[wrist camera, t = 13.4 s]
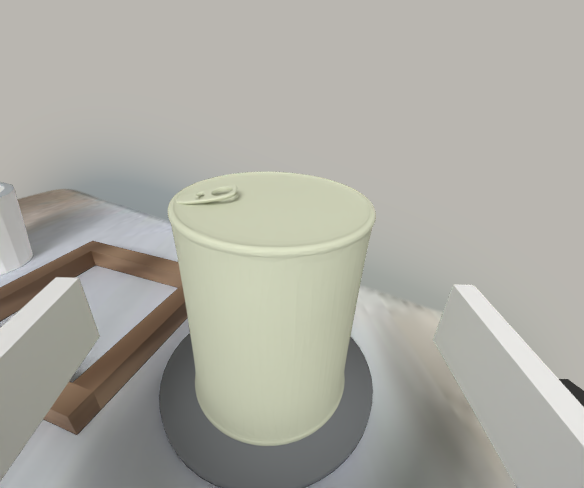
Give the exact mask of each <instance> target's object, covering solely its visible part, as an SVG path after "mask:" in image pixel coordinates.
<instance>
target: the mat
mask: <svg viewBox="0 0 584 488" xmlns="http://www.w3.org/2000/svg"><path fill="white" fill-rule="evenodd" d="M195 375H196V371H195V363H194V355H193V348H192V342H191V335H190V333H189V334H188V335H187V336H186V337H185V338H184V339H183V340H182V342H181V343H180V344H179V346H178V347H177V348H176V349H175V351H174V353H173V354H172V356H171V358H170V359H169V361H168V363H167V366H166V368H165V370H164V374H163V377H162V381H161V386H160V394H159V401H160V412H161V417H162V422H163V426H164V429H165V432H166V434H167V437H168V440H169V442H170V444H171V446H172V447H173V449H174V450H175V452H176V454H177V455H178V456H179V458H180V459H181V460H182V461H183V462H184V463H185V464H186V466H187V467H188V468H190V469H191V470H192V471H193V472H195V473H196V474H197V475H198V476H199V477H201V478H203V479H204V480H206V481H208V482H210V483H211V484H213V485H215V486H218V487H220V488H305V487H307V486H309V485H311V484H314V483H316V482H318V481H320V480H321V479H323V478H324V477H326V476H327V475H329V474H330V473H332V472H333V471H335V470H336V469H337V468H338V467H339V466H340V465H341V464H342V463H343V462H344V461H345V460H346V459H347V458H348V457H349V456H350V454H351V453H352V452H353V451H354V449H355V448H356V446H357V444H358V443H359V441H360V439H361V437H362V436H363V433H364V431H365V428H366V425H367V423H368V419H369V415H370V411H371V406H372V394H373V389H372V379H371V375H370V371H369V367H368V364H367V362H366V360H365V357H364V355H363V353H362V352H361V350H360V348H359V347H358V345H357V344H356V343H355V341H354V340H353V339H352V338H351V337H350V340H349V346H348V351H347V357H346V363H345V369H344V377H345V382H344V390H343V394H342V398H341V400H340V403H339V405H338V407H337V409H336V410H335V412H334V414H333V415H332V416H331V417H330V419H329V420H328V421H327V422H326V423H325V424H324V425H323V426H322V427H321V428H319V429H318V430H317V431H315V432H314V433H312V434H311V435H309V436H307V437H305V438H303V439H301V440H298V441H295V442H292V443H289V444H284V445H277V446H258V445H252V444H248V443H243V442H240V441H238V440H235V439H233V438H231V437H229V436H227V435H226V434H224V433H223V432H221V431H220V430H219V429H217V428H216V427H215V426H214V425H213V424H212V423H211V422H210V421H209V420H208V418H207V417H206V416H205V414H204V412H203V411H202V409H201V407H200V405H199V402H198V399H197V396H196V390H195Z"/></svg>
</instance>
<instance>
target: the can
mask: <svg viewBox="0 0 584 488" xmlns="http://www.w3.org/2000/svg"><path fill="white" fill-rule="evenodd" d="M168 217H169V220H170V223H171V226H172V231H173V236H174V241H175V246H176V251H177V257H178V263H179V268H180V274H181V280H182V286H183V292H184V298H185V303H186V310H187V316H188V323H189V329H190V335H191V342H192V348H193V355H194V363H195V371H196V375H195V390H196V396H197V399H198V402H199V405H200V407H201V409H202V411H203V412H204V414H205V416H206V417H207V418H208V420H209V421H210V422H211V423H212V424H213V425H214V426H215V427H216V428H217V429H219V430H220V431H221V432H223V433H224V434H226V435H227V436H229V437H231V438H233V439H235V440H238V441H240V442H243V443H248V444H252V445H258V446H277V445H284V444H289V443H292V442H295V441H298V440H301V439H303V438H305V437H307V436H309V435H311V434H312V433H314V432H315V431H317V430H318V429H319V428H321V427H322V426H323V425H324V424H325V423H326V422H327V421H328V420H329V419H330V417H331V416H332V415H333V414H334V412H335V410H336V409H337V407H338V405H339V403H340V400H341V398H342V394H343V390H344V382H345V377H344V369H345V363H346V357H347V351H348V346H349V340H350V335H351V330H352V324H353V319H354V314H355V308H356V303H357V298H358V293H359V288H360V282H361V278H362V272H363V267H364V262H365V257H366V252H367V248H368V243H369V239H370V235H371V231H372V227H373V225H374V222H375V219H376V213H375V209H374V206H373V205H372V203H371V202H370V201H369V200H368V199H367V198H366V197H365V196H364V195H363V194H361V193H360V192H358V191H357V190H355V189H353V188H350V187H349V186H346V185H344V184H341V183H338V182H335V181H332V180H329V179H325V178H320V177H316V176H311V175H304V174H297V173H287V172H245V173H236V174H229V175H223V176H217V177H213V178H210V179H206V180H203V181H200V182H197V183H194V184H192V185H190V186H188V187H186V188H184V189H182V190H181V191H180V192H179V193H177V194H176V195H175V196H174V197H173V198H172V199H171V201H170V203H169V206H168Z"/></svg>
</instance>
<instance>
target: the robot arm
mask: <svg viewBox="0 0 584 488" xmlns="http://www.w3.org/2000/svg"><path fill="white" fill-rule="evenodd" d="M99 337H100V335H99V333H98V330H97V327H96V324H95V321H94V318H93V316H92V313H91V310H90V307H89V304H88V302H87V299H86V296H85V293H84V290H83V287H82V285H81V282H80V279H79V278H64V277H56V278H55V279H54V280H52V281H51V282H50V283H49V284H48V285H47V286H46V287H45V288H44V289H43V290H41V291H40V292H39V293H38V294H37V295H36V296H35V297H34V298H33V299H32V300H31V301H29V302H28V303H27V304H26V305H25V306H24V307H23V308H22V309H21V310H20V311H18V312H17V313H16V314H15V315H14V316H13V317H12V318H11V319H10V320H9V321H7V322H6V323H5V324H4V325H3V326H2V327H1V328H0V481H1V480H2V478H3V477H4V475H5V474H6V472H7V471H8V470H9V468H10V467H11V465H12V464H13V462H14V461H15V459H16V458H17V456H18V455H19V454H20V452H21V451H22V449H23V448H24V446H25V445H26V443H27V442H28V440H29V439H30V438H31V436H32V435H33V433H34V432H35V430H36V429H37V427H38V426H39V424H40V423H41V422H42V420H43V419H44V417H45V416H46V414H47V413H48V411H49V410H50V408H51V407H52V405H53V404H54V403H55V401H56V400H57V398H58V397H59V395H60V394H61V392H62V391H63V389H64V388H65V387H66V385H67V384H68V382H69V381H70V379H71V378H72V376H73V375H74V373H75V372H76V371H77V369H78V368H79V366H80V365H81V363H82V362H83V360H84V359H85V357H86V356H87V355H88V353H89V352H90V350H91V349H92V347H93V346H94V344H95V343H96V341H97V340H98V339H99ZM433 341H434V342H435V344H436V346H437V348H438V350H439V351H440V353H441V355H442V357H443V358H444V360H445V362H446V364H447V366H448V367H449V369H450V371H451V373H452V374H453V376H454V378H455V380H456V381H457V383H458V385H459V387H460V389H461V390H462V392H463V394H464V396H465V397H466V399H467V401H468V403H469V404H470V406H471V408H472V410H473V412H474V413H475V415H476V417H477V419H478V420H479V422H480V424H481V426H482V427H483V429H484V431H485V433H486V435H487V436H488V438H489V440H490V442H491V443H492V445H493V447H494V449H495V450H496V452H497V454H498V456H499V458H500V459H501V461H502V463H503V465H504V466H505V468H506V470H507V472H508V474H509V475H510V477H511V479H512V481H513V482H514V484H515V486H516V488H584V391H583V390H582V389H580V388H579V387H577V386H576V385H575V384H573V383H572V382H571V381H569V380H568V379H558V378H557V377H556V376H555V375H554V374H553V373H552V371H551V370H550V369H549V368H548V367H547V366H546V365H545V364H544V362H543V361H542V360H541V359H540V358H539V357H538V356H537V355H536V354H535V353H534V351H533V350H532V349H531V348H530V347H529V346H528V345H527V344H526V343H525V341H524V340H523V339H522V338H521V337H520V336H519V335H518V334H517V333H516V331H515V330H514V329H513V328H512V327H511V326H510V325H509V324H508V323H507V322H506V320H505V319H504V318H503V317H502V316H501V315H500V314H499V313H498V311H497V310H496V309H495V308H494V307H493V306H492V305H491V304H490V303H489V302H488V300H487V299H486V298H485V297H484V296H483V295H482V294H481V293H480V292H479V290H478V289H477V288H476V287H475V286H474V285H453V286H452V289H451V292H450V295H449V297H448V300H447V303H446V305H445V308H444V311H443V314H442V316H441V319H440V322H439V325H438V327H437V330H436V333H435V336H434V338H433Z"/></svg>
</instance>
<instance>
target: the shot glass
mask: <svg viewBox="0 0 584 488" xmlns="http://www.w3.org/2000/svg"><path fill="white" fill-rule="evenodd" d="M32 256H33V253H32V249H31V246H30V242H29V239H28V235H27V231H26V228H25V224H24V221H23V217H22V214H21V210H20V207H19V203H18V200H17V196H16V193H15V189H14V187H13V185H11V184H7V183H0V275H2V274H5V273H8V272H11V271H13V270H15V269H18V268H20V267H22V266H23V265H25V264H26V263H27V262H29V261H30V260H31V258H32Z"/></svg>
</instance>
